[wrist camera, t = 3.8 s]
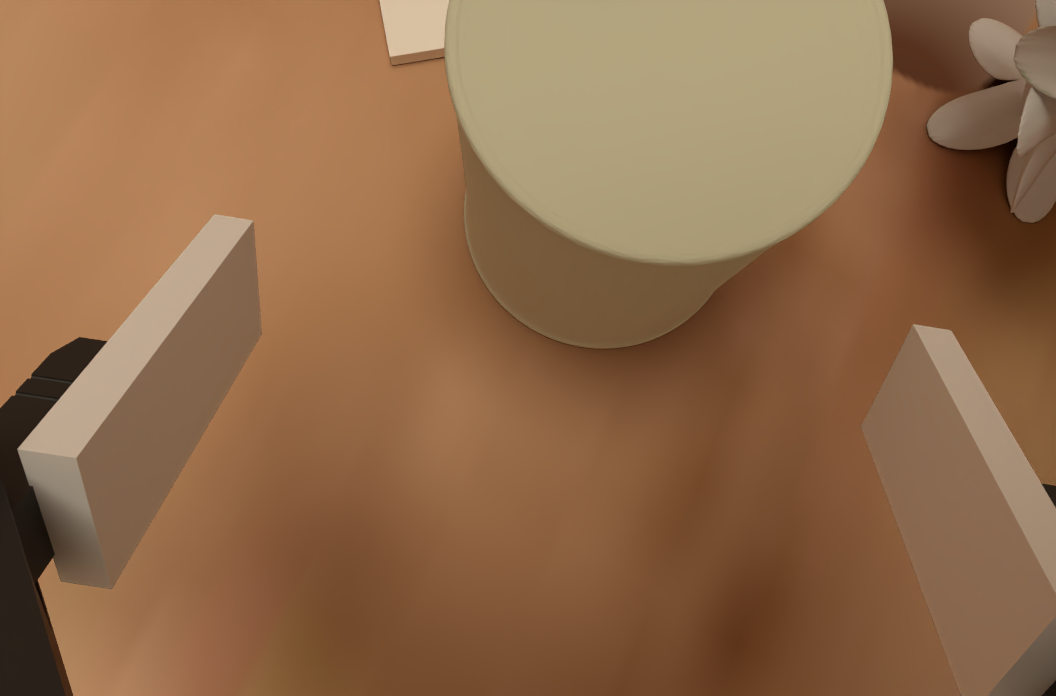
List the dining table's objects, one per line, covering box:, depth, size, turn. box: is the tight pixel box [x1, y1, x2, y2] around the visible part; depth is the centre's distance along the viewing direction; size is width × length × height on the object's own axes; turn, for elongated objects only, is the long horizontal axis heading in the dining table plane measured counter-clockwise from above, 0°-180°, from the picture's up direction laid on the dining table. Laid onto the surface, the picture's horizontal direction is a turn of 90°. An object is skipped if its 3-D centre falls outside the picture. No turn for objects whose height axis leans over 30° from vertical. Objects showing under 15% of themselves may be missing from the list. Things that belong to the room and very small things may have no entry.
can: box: [444, 0, 893, 349], centre depth 22 cm, size 9×9×12 cm
